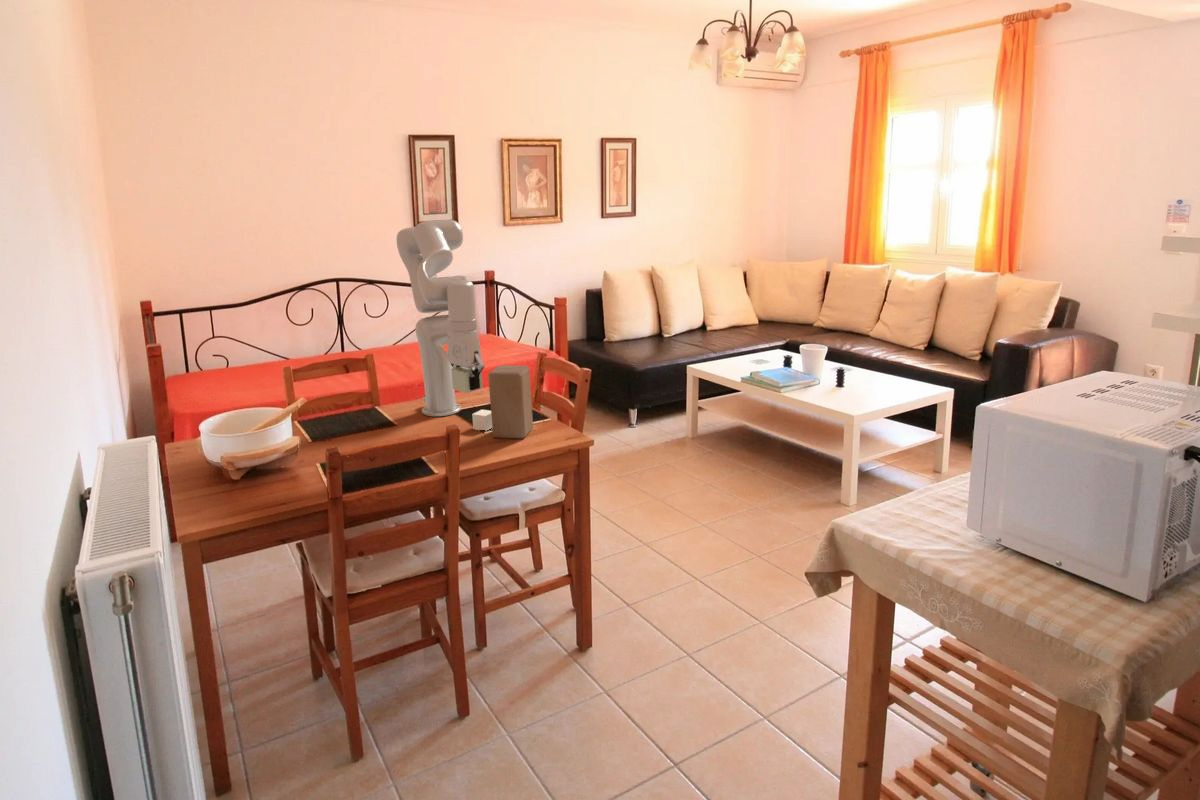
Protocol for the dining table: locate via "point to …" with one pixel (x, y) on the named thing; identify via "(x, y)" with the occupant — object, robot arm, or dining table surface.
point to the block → (510, 401)
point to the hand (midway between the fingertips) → (467, 386)
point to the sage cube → (463, 379)
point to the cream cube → (482, 420)
